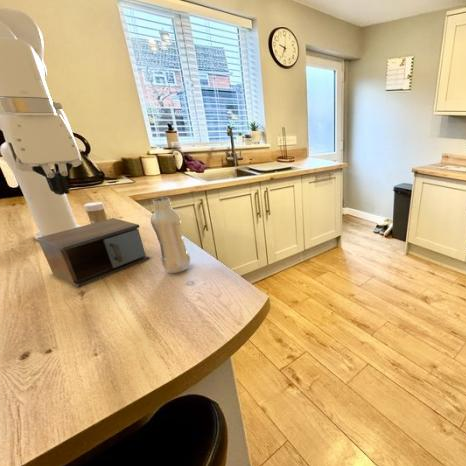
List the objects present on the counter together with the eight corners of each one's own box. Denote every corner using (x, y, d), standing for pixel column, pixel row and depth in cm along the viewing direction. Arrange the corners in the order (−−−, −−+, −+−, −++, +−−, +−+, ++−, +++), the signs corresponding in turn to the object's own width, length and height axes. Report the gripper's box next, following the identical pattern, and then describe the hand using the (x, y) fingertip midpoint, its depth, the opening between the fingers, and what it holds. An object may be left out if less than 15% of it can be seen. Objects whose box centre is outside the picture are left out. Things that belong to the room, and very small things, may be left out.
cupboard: (53, 274, 75) (36, 237, 71) (123, 249, 90) (113, 217, 86) (78, 287, 70) (62, 247, 66) (149, 258, 85) (139, 224, 80)
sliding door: (112, 267, 77) (102, 239, 74) (144, 255, 84) (136, 228, 81) (119, 270, 76) (110, 241, 73) (151, 257, 83) (144, 230, 80)
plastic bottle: (197, 266, 81) (182, 197, 73) (177, 277, 75) (158, 204, 67) (180, 262, 83) (163, 194, 75) (158, 273, 77) (138, 201, 69)
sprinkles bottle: (114, 243, 94) (101, 204, 88) (96, 247, 91) (82, 206, 86) (115, 239, 97) (103, 200, 92) (98, 241, 95) (84, 202, 90)
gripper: (65, 108, 68) (91, 185, 75) (-33, 106, 55) (9, 199, 62) (82, 108, 65) (107, 188, 72) (-17, 106, 52) (25, 203, 59)
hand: (62, 193), depth 67 cm, fingers closed
